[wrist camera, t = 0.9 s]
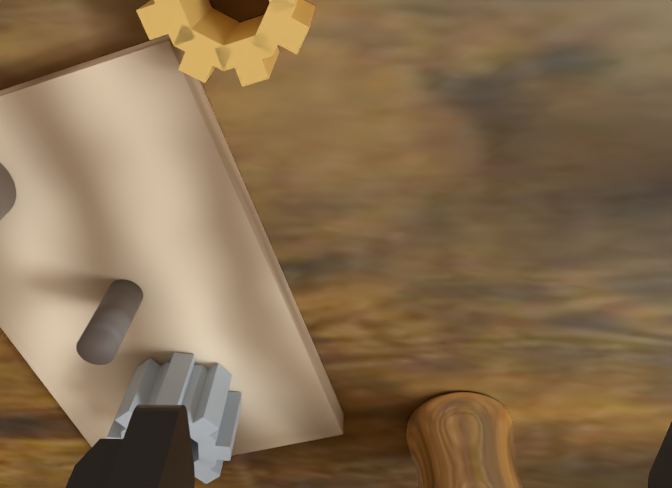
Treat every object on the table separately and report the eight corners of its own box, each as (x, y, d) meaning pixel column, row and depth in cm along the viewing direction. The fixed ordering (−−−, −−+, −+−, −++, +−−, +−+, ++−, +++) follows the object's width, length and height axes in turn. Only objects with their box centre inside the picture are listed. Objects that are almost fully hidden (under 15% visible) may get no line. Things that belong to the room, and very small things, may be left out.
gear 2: (182, 334, 30) (164, 386, 27) (264, 401, 32) (255, 456, 29) (107, 388, 32) (82, 441, 29) (189, 447, 34) (173, 502, 31)
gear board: (178, 31, 24) (135, 72, 19) (343, 413, 35) (341, 498, 30) (-117, 129, 27) (-218, 186, 22) (123, 457, 37) (90, 541, 33)
